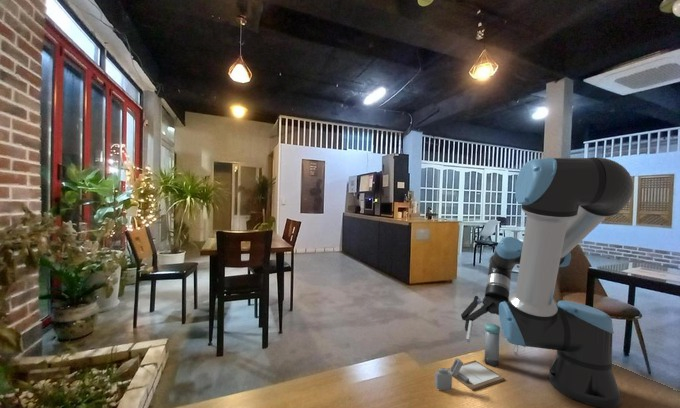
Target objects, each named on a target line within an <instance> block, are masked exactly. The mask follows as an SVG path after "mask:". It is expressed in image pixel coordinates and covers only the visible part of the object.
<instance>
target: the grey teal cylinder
mask: <svg viewBox="0 0 680 408" xmlns="http://www.w3.org/2000/svg"><path fill="white" fill-rule="evenodd" d="M484 331H485V333H484V334H485V335H484V363H485V364H486V365H487V366H490V367H494V368H496V366H497V367H499V366H498V365H500V364H499V361H500V358H499V357H500V333H501V327H500V326H499V325H497V324H494V323H485V324H484Z"/></svg>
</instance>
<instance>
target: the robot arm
mask: <svg viewBox="0 0 680 408" xmlns="http://www.w3.org/2000/svg"><path fill="white" fill-rule="evenodd" d="M517 174H518V175H517V177H516V181H515V184H514V191H515V193H514V197H515V200H516V202H517V203H518V204H519V205H521V207H520V208H521V210H522V212H524V213H525V214H526V220H525V221H526V222H525V225H524V232H523V233H524V234H523V240H522V241H521V240H520V239H519V238H515V237H513V236H506V237H502V239H500V241H499V242H498V243H497V245H496V247H495V250H494V252H492V253H491V254H490V258H489V261H488V262H489V264H488V265H489V266H488V274H487V278H486V284H485V286H486V287H485V292H484V297H483V298H481V297H480V298H479V296H478V295H474V298H473V300H472V302H471V303H469V305H468V306H467V307H466V308H465V310H464V311H463V312H462V313H461V314H460V316H461V320H462V321H465V324H464V330H465V331H466V336H465V337H466V339H465V340H466V342H467V343H469V344H470V343H471V336H472V330H473V322H474V321H475V320H477V319H479V318H480V317H482V316H483V315H485V314H487V313H488V312H489V314H492V315H493V314H495V315H498V317H499V322H500V326H501V327H500V328H501V329H502V333H503V335H504V337H505V339H506V340H507V341H508V342H509V344H512V345H513V346H514V348H513V349H514V351H513V354H514V356H515V357H518V352H519V351H518V350H519V346H520V347H523V348H526V347H529V348H537V349H546V350H551V351H552V350H553V351H556V355H555V357H554V359H553V361H552V363H551V366H550V368H549V371H548V382H549V383H550V385H552V386H553V388H555V389H556V390H558V391H559V392H560V393H562V394H564V395H565V396H567V397H569V398H571V399H573V400H575V401H578V402H580V403H583V404H584V405H589V406H591V407H595V408H596V407H597V408H619V406H621V404H622V403H621V402H622V401H621V399H622V397H621V391H620V388H619V386H618V382H617V380H616V378H615V376H614V373H613V334H614V328H613V327H614V325H613V318H611V316H610V315H609V314H608V313H606V312H604V311H603V310H601V309H598V308H595V307H592V306H590V305H586V304H583V303H580V302H575V301H571V300H559V301H557V303H555V302H554V301H553V299H554V293H555V288H556V284H557V278H558V274H559V269H560V268H565V267H567V266H569V265H570V263H571V260H572V253H571V251H572V250H573V249H574V248H575V247H576V246H578V244H580V243H581V242H582V241H583V239H585V238H586V237H587V236H589V234H591V232H592V231H594V229H596V227H598V225H600V224H601V223H602V222H603V221H605V219H606V218H609V217H613V216H616V215H618V214H619V212H621V211H622V210H624V208H625V207H626V206H627V205H628V204H629V202H630V200H631V198H632V196H633V192H634V182H633V179H632V176H631V174H630V172H629V171H628V170H627V169H626V168H625V167H624V166H623V165H622V164H621V163H619V162H617V161H614V160H612V159H608V158H604V157H546V158H544V157H543V158H535V159H534V158H533V159H531V160H529V161H527V162H526V163H524V165H523V166H522V167H521V169H520V170H519V172H518V173H517ZM516 265H519V267H518V273H517V280H516V287H515V290H513V291H512V292H510V291H511V278H512V277H511V276H512V271H513V269H514V268H515V266H516ZM481 303H482V305H481V307H480V308H478V309H476V308H477V307H478V305H480V304H481ZM475 309H476V310H475ZM474 310H475V311H474ZM473 311H474V312H473Z"/></svg>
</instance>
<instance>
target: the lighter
mask: <svg viewBox="0 0 680 408" xmlns="http://www.w3.org/2000/svg"><path fill="white" fill-rule="evenodd" d="M463 364H464V363H463V361H462V360H461V359H460V358H457V357H455V358H454V361H453V363H452V365H451V366H450V368H451V369H450V371H448V370H447V368H446V367H439V369H438V370H435V371H434V372H435V373H434V387H436V388H437V389H439V390H438V391H452V389H453V388H452V386H453V376H452V375H454V376H457V375H458V373H459V371H460V369H461V367H462V365H463ZM436 388H435V389H436ZM437 389H436V390H437Z"/></svg>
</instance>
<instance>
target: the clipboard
mask: <svg viewBox="0 0 680 408" xmlns="http://www.w3.org/2000/svg"><path fill="white" fill-rule="evenodd" d="M450 369H451V367H448V368H447V370H448V371H450ZM452 378H454V379H456V381H458V382H460V383H461V384H462V385H464V386H465V387H467V388H468V389H469V390H471V391H472V392H474V391H477V390H480V389H482V388H485V387H488V386H492V385H494V384H496V383H499V382H502V381H505V377H504V376H502V375H501V374H499V373H497V372H496V371H494V370H493V369H491V368H489V367H488V366H486V365H484V364H482V363H480V362H479V361H477V360H475V359H474V360H472V361H468V362H465V363H463V365H462V367H461V369H460V371H459V373H458V375H457V376H454V375H452Z"/></svg>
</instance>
